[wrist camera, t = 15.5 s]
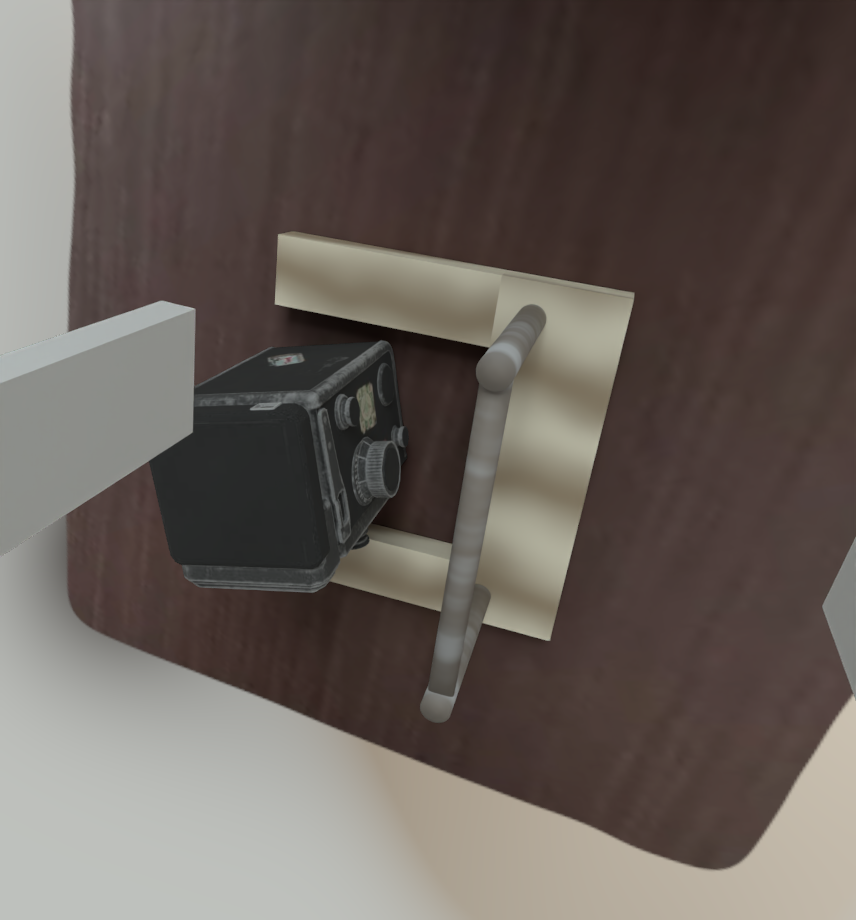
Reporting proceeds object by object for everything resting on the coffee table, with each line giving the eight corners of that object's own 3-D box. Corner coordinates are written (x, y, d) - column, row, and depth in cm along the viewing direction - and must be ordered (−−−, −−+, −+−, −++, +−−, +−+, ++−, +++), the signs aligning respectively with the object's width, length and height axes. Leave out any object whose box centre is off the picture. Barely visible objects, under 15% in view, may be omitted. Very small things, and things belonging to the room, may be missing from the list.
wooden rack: (293, 231, 44) (166, 259, 32) (634, 292, 40) (630, 349, 29) (275, 549, 53) (171, 660, 41) (552, 623, 49) (524, 768, 38)
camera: (290, 494, 51) (164, 615, 38) (261, 342, 47) (109, 417, 34) (436, 494, 48) (356, 626, 35) (417, 333, 44) (319, 410, 31)
